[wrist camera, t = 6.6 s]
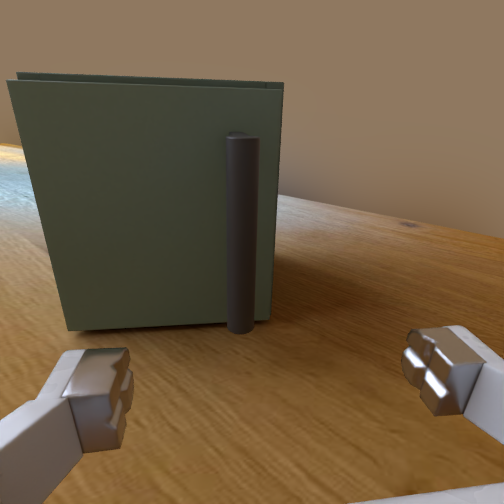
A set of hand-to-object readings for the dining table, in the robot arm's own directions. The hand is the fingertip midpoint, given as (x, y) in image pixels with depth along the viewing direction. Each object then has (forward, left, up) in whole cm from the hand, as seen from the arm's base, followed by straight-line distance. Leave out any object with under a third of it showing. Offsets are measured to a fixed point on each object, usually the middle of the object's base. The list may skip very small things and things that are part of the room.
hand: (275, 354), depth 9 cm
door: (+13, +5, -9) cm, 16 cm away
